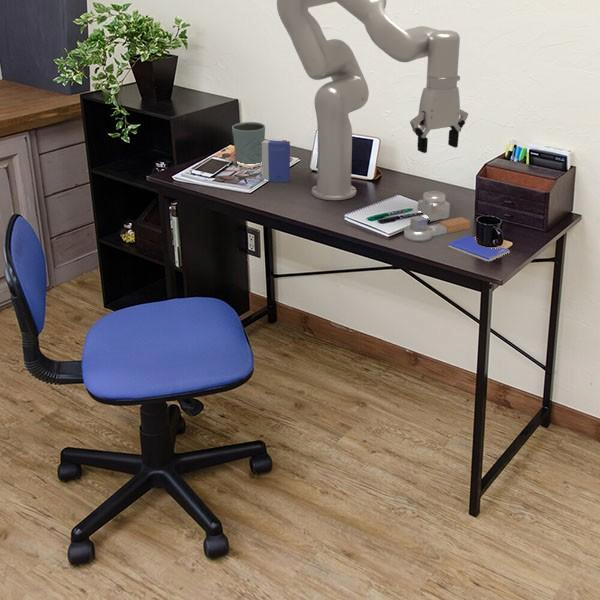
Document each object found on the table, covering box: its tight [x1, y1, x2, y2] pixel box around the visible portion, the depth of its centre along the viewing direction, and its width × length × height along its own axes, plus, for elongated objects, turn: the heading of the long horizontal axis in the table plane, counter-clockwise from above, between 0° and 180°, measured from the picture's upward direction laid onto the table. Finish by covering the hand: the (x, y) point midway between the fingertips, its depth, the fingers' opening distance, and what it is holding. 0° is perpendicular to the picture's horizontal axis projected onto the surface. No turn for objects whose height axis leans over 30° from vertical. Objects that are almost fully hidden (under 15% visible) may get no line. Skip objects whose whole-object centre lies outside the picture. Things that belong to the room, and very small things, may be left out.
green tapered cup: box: [231, 121, 266, 164], centre depth 284 cm, size 10×10×12 cm
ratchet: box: [403, 215, 471, 243], centre depth 234 cm, size 18×7×5 cm, turn 119°
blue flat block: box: [447, 235, 511, 263], centre depth 225 cm, size 2×8×12 cm
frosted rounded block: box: [416, 190, 451, 222], centre depth 245 cm, size 6×6×6 cm
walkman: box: [261, 139, 291, 183], centre depth 270 cm, size 8×3×12 cm, turn 79°
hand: (437, 149), depth 238 cm, fingers open, 9 cm apart
